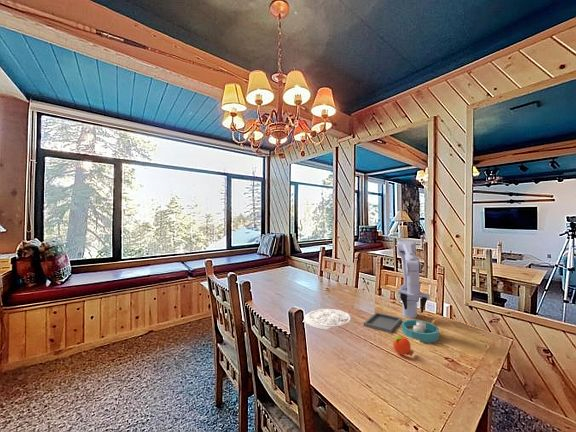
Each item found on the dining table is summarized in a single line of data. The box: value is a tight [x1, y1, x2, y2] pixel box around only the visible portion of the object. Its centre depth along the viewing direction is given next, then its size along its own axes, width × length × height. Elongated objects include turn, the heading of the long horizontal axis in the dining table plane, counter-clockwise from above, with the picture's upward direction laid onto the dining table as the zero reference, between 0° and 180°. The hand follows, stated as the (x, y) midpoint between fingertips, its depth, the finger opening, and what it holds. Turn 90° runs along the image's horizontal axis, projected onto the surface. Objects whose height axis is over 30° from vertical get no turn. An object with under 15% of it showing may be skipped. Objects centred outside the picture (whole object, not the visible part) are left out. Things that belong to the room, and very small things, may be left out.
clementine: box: [392, 335, 412, 355], centre depth 110 cm, size 8×7×7 cm
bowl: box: [401, 319, 440, 344], centre depth 126 cm, size 16×16×4 cm
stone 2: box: [416, 320, 427, 333], centre depth 129 cm, size 4×4×4 cm
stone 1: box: [412, 325, 423, 333], centre depth 124 cm, size 4×4×4 cm
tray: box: [363, 312, 403, 334], centre depth 138 cm, size 18×14×2 cm
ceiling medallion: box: [303, 308, 352, 331], centre depth 147 cm, size 28×28×3 cm
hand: (413, 310), depth 132 cm, fingers open, 7 cm apart
